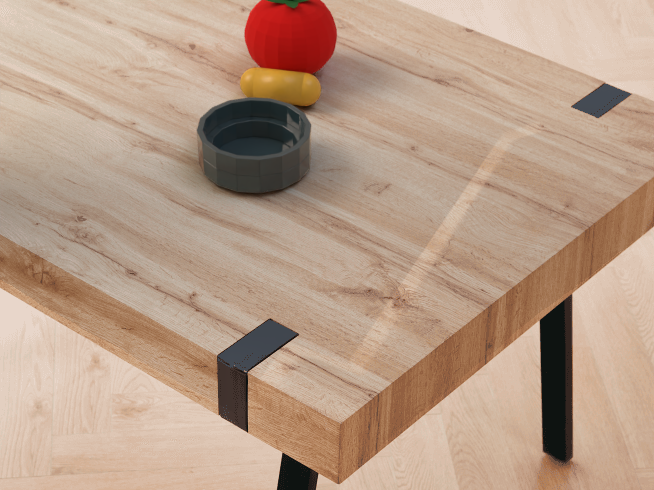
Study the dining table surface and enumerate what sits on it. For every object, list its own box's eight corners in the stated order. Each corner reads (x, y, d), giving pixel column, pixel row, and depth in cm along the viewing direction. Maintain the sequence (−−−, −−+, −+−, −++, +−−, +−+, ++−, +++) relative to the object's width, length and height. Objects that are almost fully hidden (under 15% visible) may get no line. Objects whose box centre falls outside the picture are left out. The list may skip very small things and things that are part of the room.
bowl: (179, 177, 108) (175, 139, 105) (235, 123, 116) (233, 87, 113) (278, 209, 105) (277, 171, 102) (328, 151, 112) (329, 114, 110)
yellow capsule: (236, 69, 116) (244, 61, 119) (236, 102, 118) (243, 93, 121) (318, 79, 116) (324, 71, 119) (316, 111, 117) (322, 102, 120)
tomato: (350, 86, 122) (352, 5, 116) (263, 102, 119) (260, 19, 112) (316, 43, 129) (317, -36, 123) (233, 57, 126) (230, -23, 119)
